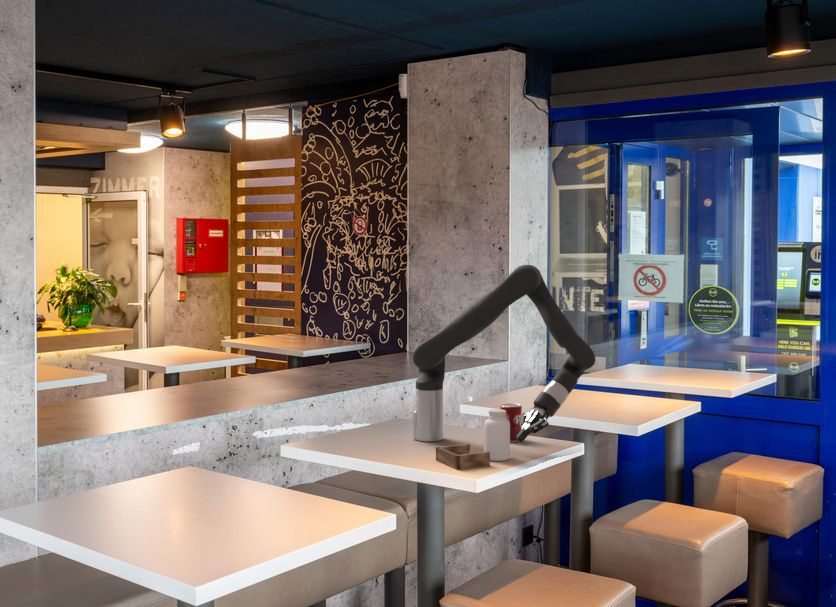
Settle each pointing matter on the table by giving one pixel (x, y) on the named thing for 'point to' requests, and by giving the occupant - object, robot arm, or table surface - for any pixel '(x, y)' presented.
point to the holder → (461, 457)
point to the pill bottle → (497, 435)
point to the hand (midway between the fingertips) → (518, 440)
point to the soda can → (513, 418)
